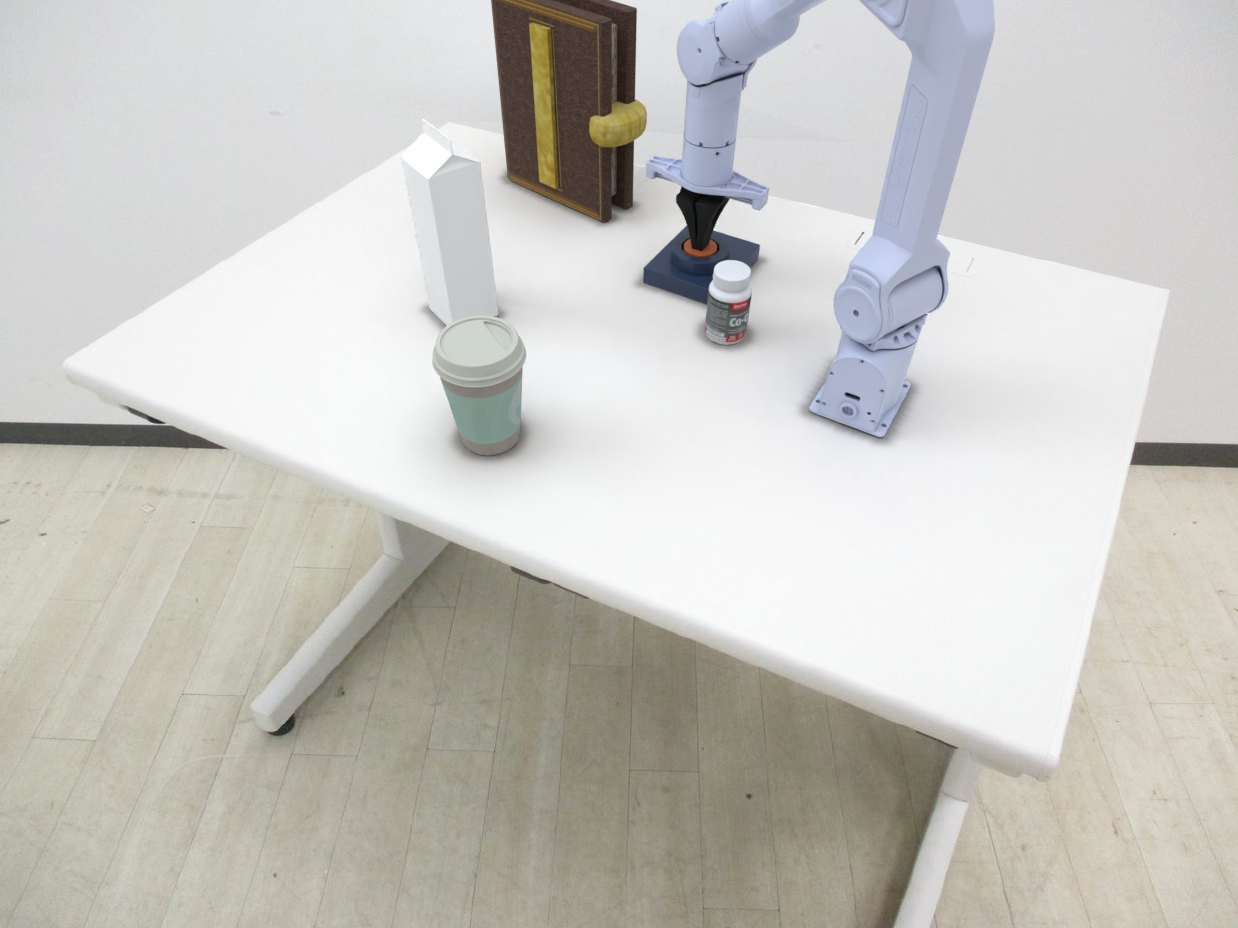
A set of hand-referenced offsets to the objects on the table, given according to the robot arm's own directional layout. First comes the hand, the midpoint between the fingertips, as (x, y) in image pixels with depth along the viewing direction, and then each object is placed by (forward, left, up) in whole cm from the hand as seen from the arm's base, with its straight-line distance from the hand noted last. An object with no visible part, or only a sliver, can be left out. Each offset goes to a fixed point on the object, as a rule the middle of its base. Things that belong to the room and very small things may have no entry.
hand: (700, 246), depth 102 cm
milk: (-21, +20, -4) cm, 29 cm away
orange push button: (0, 0, -2) cm, 2 cm away
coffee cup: (-36, +5, -4) cm, 37 cm away
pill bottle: (-9, -8, -4) cm, 13 cm away
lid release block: (+1, 0, -4) cm, 4 cm away
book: (+9, +24, -4) cm, 26 cm away
